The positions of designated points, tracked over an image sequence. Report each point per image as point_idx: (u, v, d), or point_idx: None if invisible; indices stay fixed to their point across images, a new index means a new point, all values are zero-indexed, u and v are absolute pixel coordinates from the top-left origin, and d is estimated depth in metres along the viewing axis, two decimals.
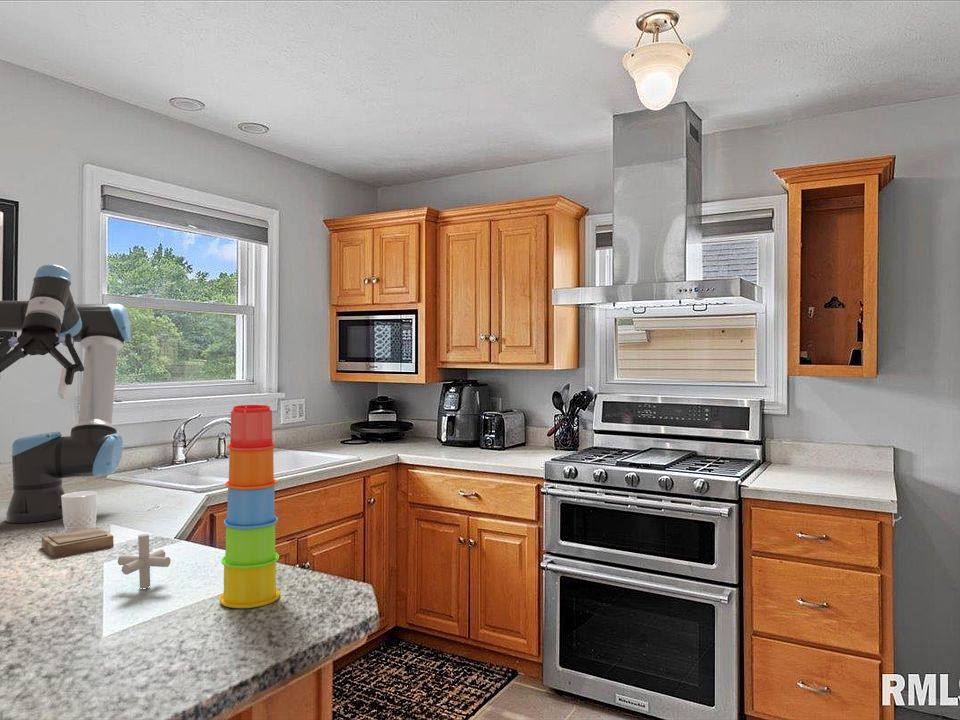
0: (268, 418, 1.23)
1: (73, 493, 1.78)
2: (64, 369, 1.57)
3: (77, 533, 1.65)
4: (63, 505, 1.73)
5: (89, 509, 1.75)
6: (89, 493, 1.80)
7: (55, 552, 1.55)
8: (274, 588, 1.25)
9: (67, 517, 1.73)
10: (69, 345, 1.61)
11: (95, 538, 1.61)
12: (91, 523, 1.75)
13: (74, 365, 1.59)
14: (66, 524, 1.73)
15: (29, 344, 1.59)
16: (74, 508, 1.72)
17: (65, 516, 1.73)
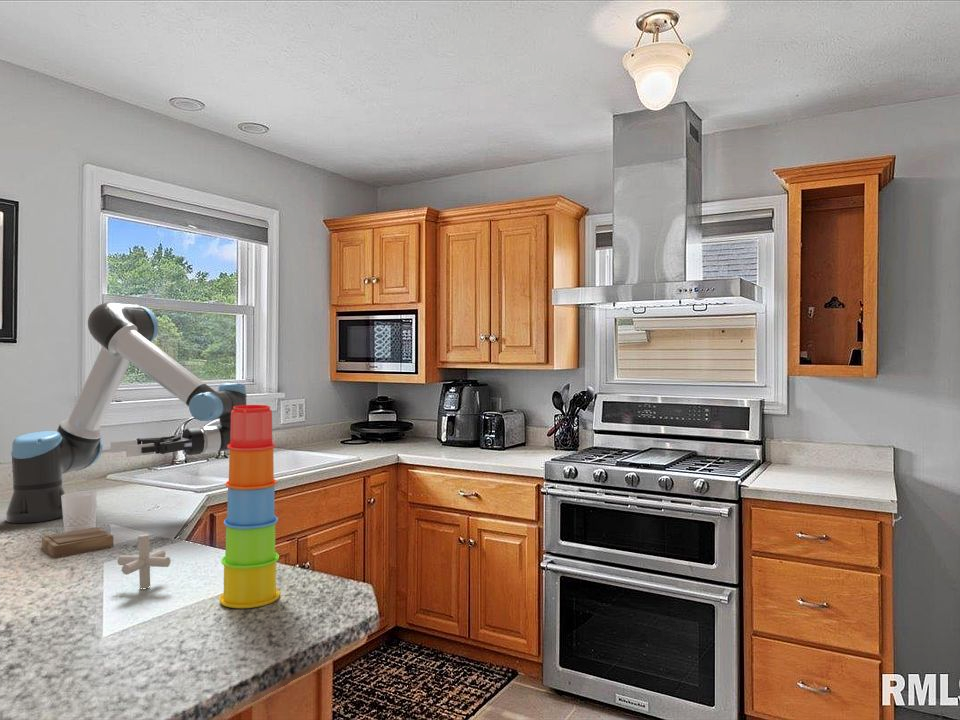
0: (268, 418, 1.23)
1: (73, 493, 1.78)
2: None
3: (77, 533, 1.65)
4: (63, 505, 1.73)
5: (89, 509, 1.75)
6: (89, 493, 1.80)
7: (55, 552, 1.55)
8: (274, 588, 1.25)
9: (67, 517, 1.73)
10: None
11: (95, 538, 1.61)
12: (91, 523, 1.75)
13: None
14: (66, 524, 1.73)
15: None
16: (74, 508, 1.72)
17: (65, 516, 1.73)
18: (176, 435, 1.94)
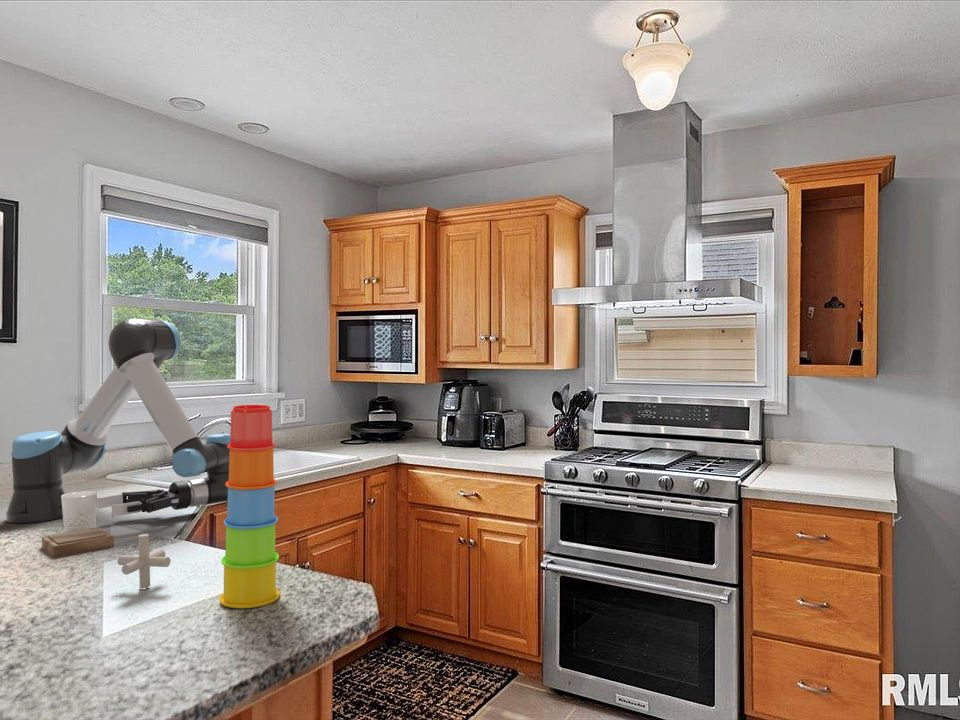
0: (268, 418, 1.23)
1: (73, 493, 1.78)
2: None
3: (77, 533, 1.65)
4: (63, 505, 1.73)
5: (89, 509, 1.75)
6: (89, 493, 1.80)
7: (55, 552, 1.55)
8: (274, 588, 1.25)
9: (67, 517, 1.73)
10: None
11: (95, 538, 1.61)
12: (91, 523, 1.75)
13: None
14: (66, 524, 1.73)
15: None
16: (74, 508, 1.72)
17: (65, 516, 1.73)
18: None
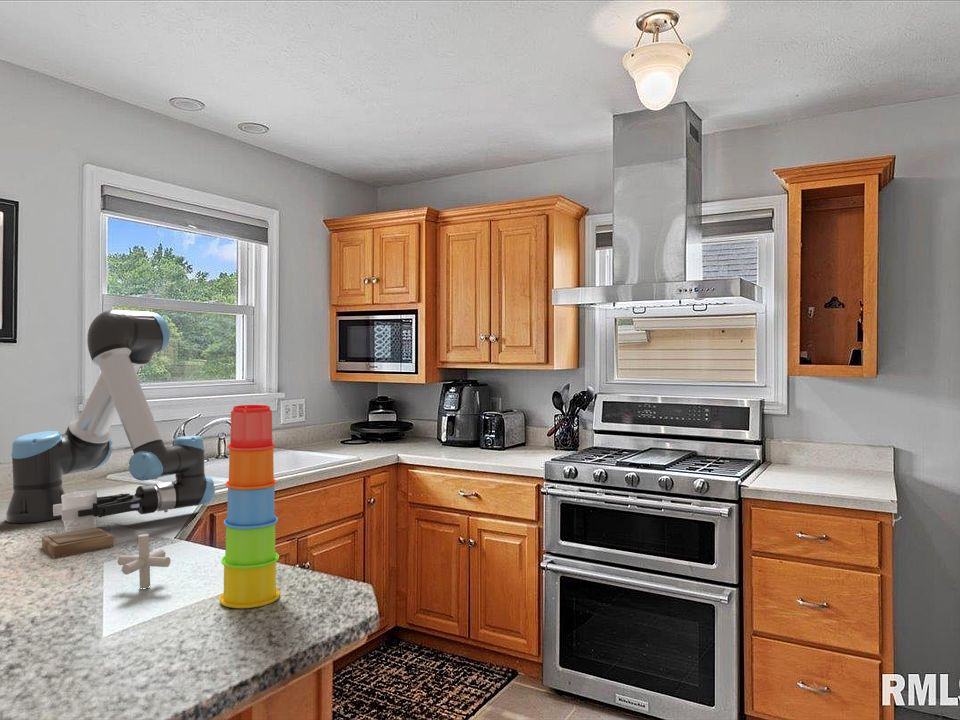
0: (268, 418, 1.23)
1: (73, 493, 1.78)
2: None
3: (77, 533, 1.65)
4: (63, 505, 1.73)
5: None
6: (89, 493, 1.80)
7: (55, 552, 1.55)
8: (274, 588, 1.25)
9: None
10: None
11: (95, 538, 1.61)
12: (91, 523, 1.75)
13: None
14: (66, 524, 1.73)
15: None
16: None
17: None
18: None
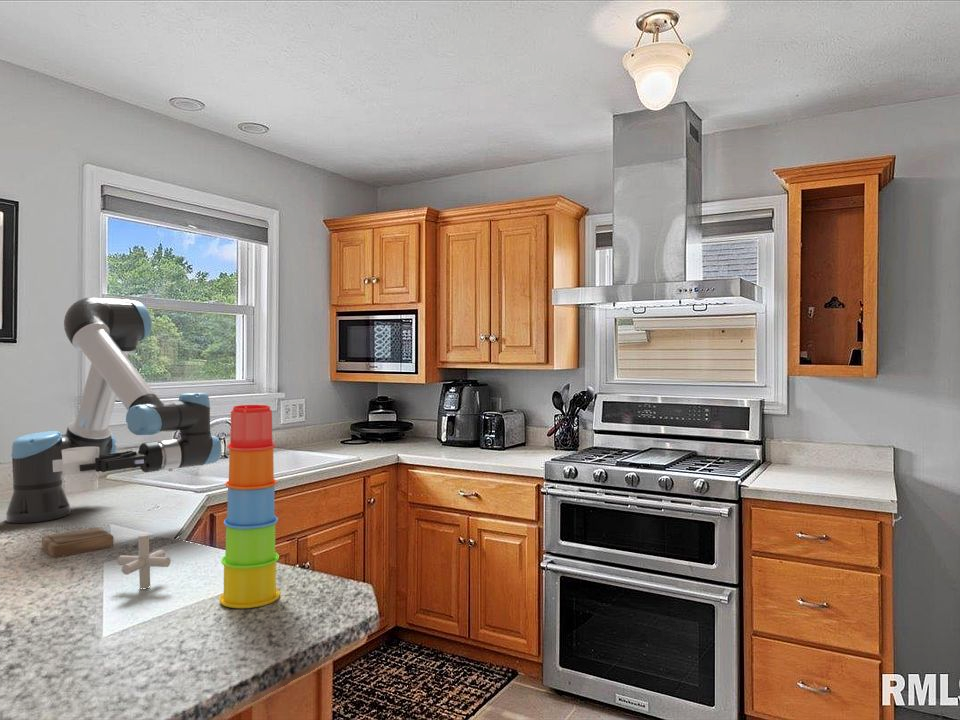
0: (268, 418, 1.23)
1: (74, 448, 1.70)
2: None
3: (77, 533, 1.65)
4: (64, 459, 1.64)
5: None
6: (91, 449, 1.71)
7: (55, 552, 1.55)
8: (274, 588, 1.25)
9: None
10: None
11: (95, 538, 1.61)
12: (93, 479, 1.67)
13: None
14: (67, 479, 1.65)
15: None
16: None
17: None
18: None
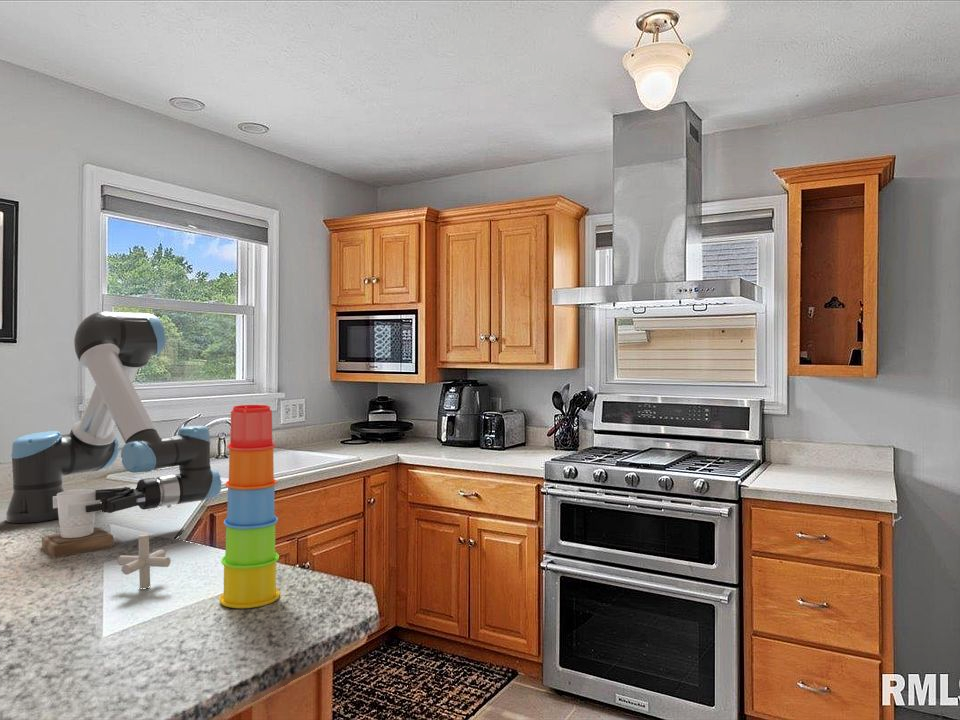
0: (268, 418, 1.23)
1: (70, 491, 1.66)
2: None
3: None
4: (59, 504, 1.60)
5: None
6: (87, 491, 1.67)
7: (55, 552, 1.55)
8: (274, 588, 1.25)
9: (63, 517, 1.60)
10: None
11: (95, 538, 1.61)
12: (89, 523, 1.62)
13: None
14: (62, 525, 1.60)
15: None
16: None
17: (61, 516, 1.60)
18: (129, 487, 1.72)
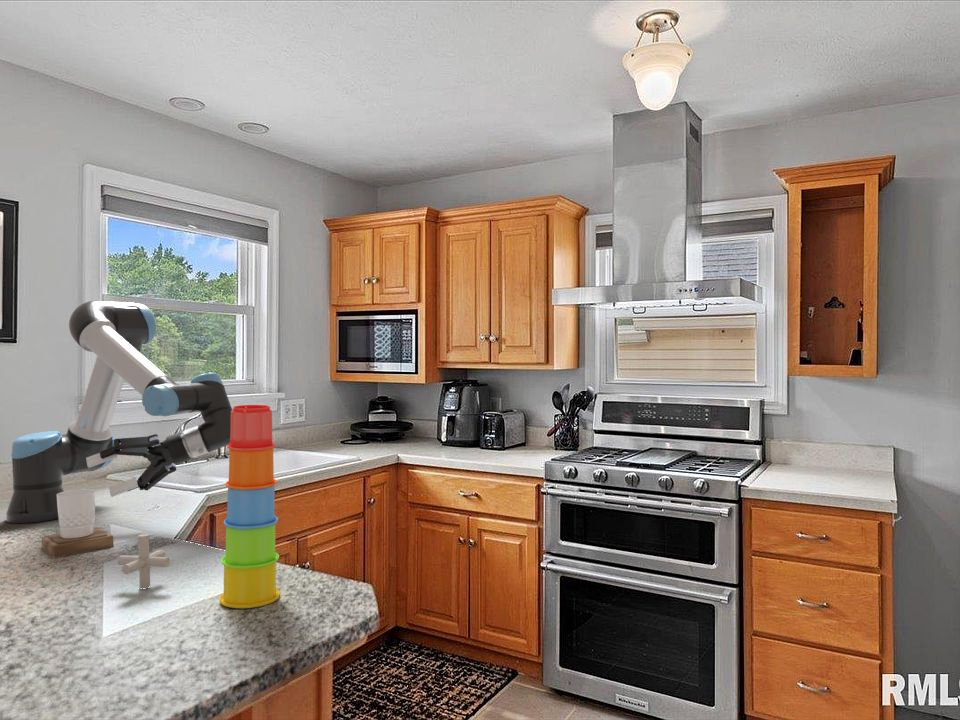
0: (268, 418, 1.23)
1: (69, 491, 1.65)
2: (136, 486, 1.79)
3: None
4: (59, 504, 1.60)
5: (87, 509, 1.62)
6: (87, 491, 1.67)
7: (55, 552, 1.55)
8: (274, 588, 1.25)
9: (63, 517, 1.60)
10: (163, 475, 1.81)
11: (95, 538, 1.61)
12: (89, 524, 1.62)
13: (144, 485, 1.81)
14: (62, 525, 1.60)
15: None
16: (71, 507, 1.59)
17: (61, 516, 1.60)
18: None
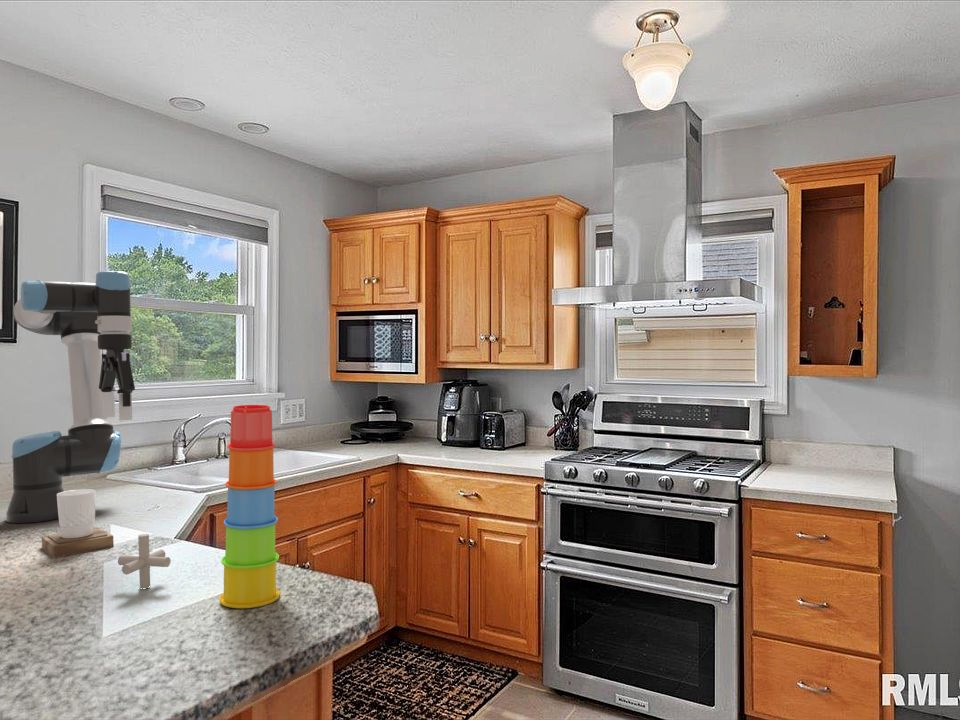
0: (268, 418, 1.23)
1: (70, 491, 1.65)
2: (119, 395, 1.69)
3: None
4: (59, 504, 1.60)
5: (87, 509, 1.62)
6: (87, 491, 1.67)
7: (55, 552, 1.55)
8: (274, 588, 1.25)
9: (63, 517, 1.60)
10: (119, 367, 1.69)
11: (95, 538, 1.61)
12: (89, 524, 1.62)
13: None
14: (62, 525, 1.60)
15: (109, 364, 1.75)
16: (71, 507, 1.59)
17: (61, 516, 1.60)
18: None
